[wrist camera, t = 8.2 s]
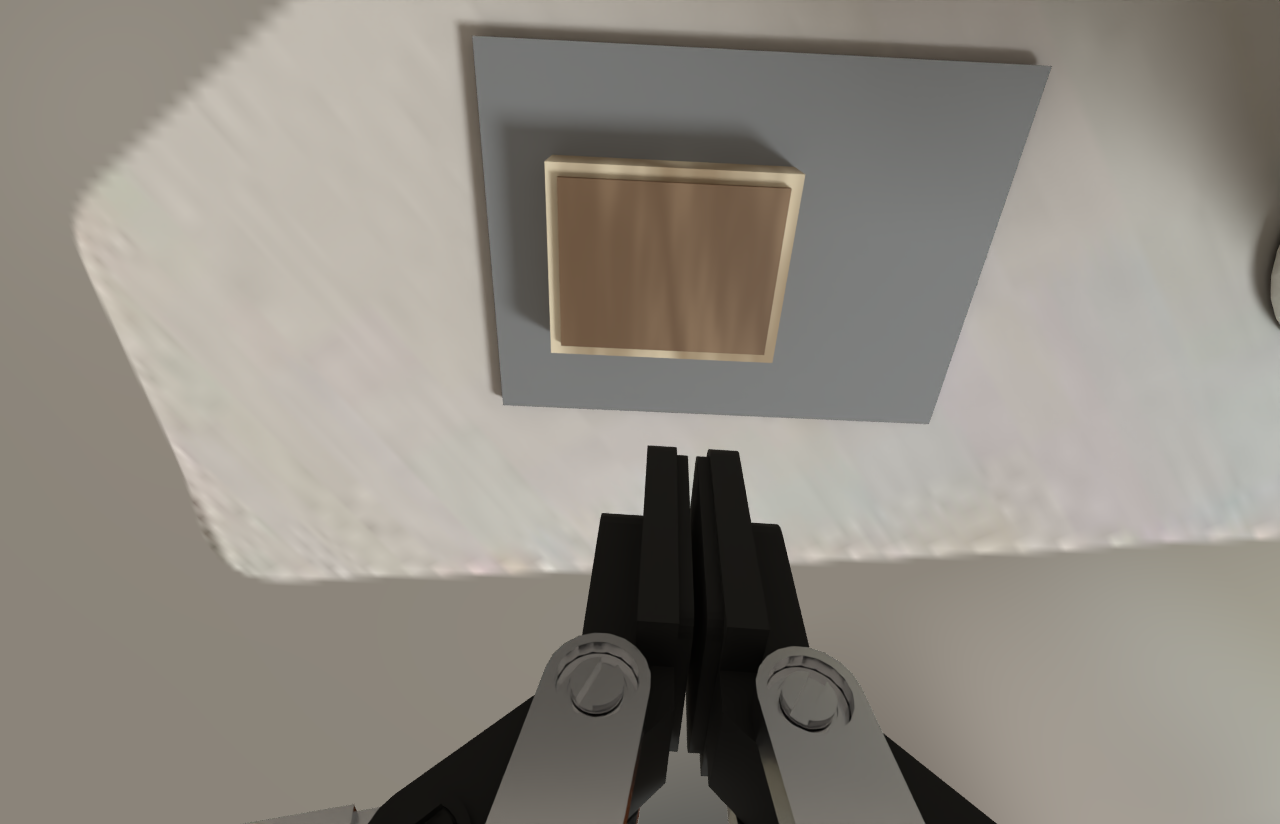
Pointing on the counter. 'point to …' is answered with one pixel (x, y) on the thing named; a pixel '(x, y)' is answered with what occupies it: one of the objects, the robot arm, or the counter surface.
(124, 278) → the counter surface
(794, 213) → the birch tile
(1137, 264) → the counter surface
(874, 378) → the rubber mat
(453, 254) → the counter surface
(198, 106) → the counter surface
